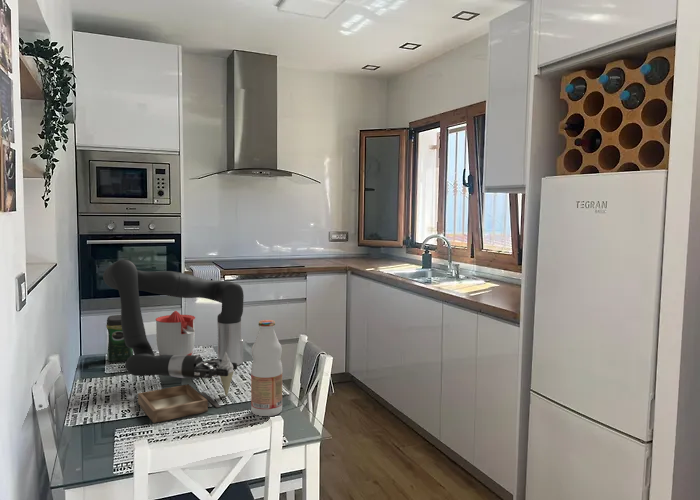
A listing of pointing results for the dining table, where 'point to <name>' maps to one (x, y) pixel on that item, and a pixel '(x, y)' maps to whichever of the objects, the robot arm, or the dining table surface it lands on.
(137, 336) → the robot arm
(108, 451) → the dining table surface
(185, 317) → the citrus juicer
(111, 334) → the coffee jar
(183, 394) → the tray
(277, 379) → the fruit juice
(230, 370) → the ice cream cone
